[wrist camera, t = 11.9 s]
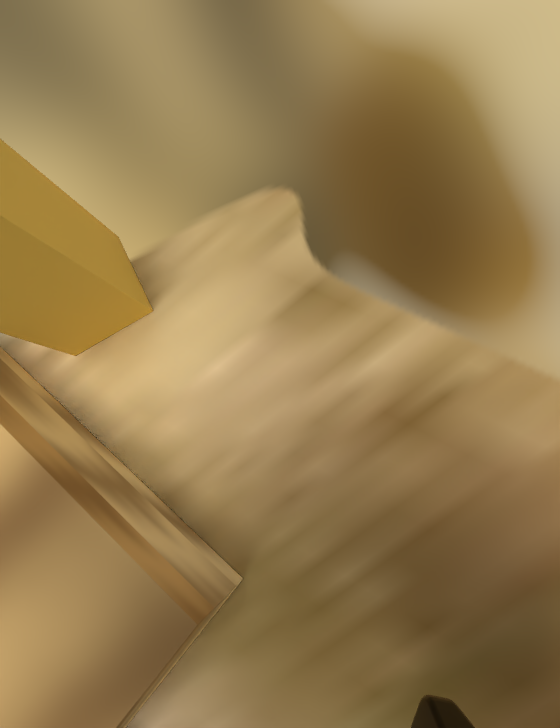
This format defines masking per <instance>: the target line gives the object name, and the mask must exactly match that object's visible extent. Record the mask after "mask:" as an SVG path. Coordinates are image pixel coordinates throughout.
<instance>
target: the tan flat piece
mask: <svg viewBox="0 0 560 728" xmlns="http://www.w3.org/2000/svg"><path fill="white" fill-rule="evenodd" d="M242 580H243V578H242V577H241V576H240V575H239V574H238V573H237V572H236V571H235V570H234V569H232V568H231V567H230V566H229V565H228V564H227V563H226V562H225V561H224V560H223V559H222V558H221V557H220V556H219V555H218V554H217V553H216V552H215V551H214V550H213V549H212V548H210V547H209V546H208V545H207V544H206V543H205V542H204V541H203V540H202V539H201V538H200V537H199V536H198V535H197V534H196V533H195V532H194V531H193V530H192V529H191V528H190V527H189V526H187V525H186V524H185V523H184V522H183V521H182V520H181V519H180V518H179V517H178V516H177V515H176V514H175V513H174V512H173V511H172V510H171V509H170V508H169V507H168V506H167V505H165V504H164V503H163V502H162V501H161V500H160V499H159V498H158V497H157V496H156V495H155V494H154V493H153V492H152V491H151V490H150V489H149V488H148V487H147V486H146V485H145V484H143V483H142V482H141V481H140V480H139V479H138V478H137V477H136V476H135V475H134V474H133V473H132V472H131V471H130V470H129V469H128V468H127V467H126V466H125V465H124V464H123V463H122V462H120V461H119V460H118V459H117V458H116V457H115V456H114V455H113V454H112V453H111V452H110V451H109V450H108V449H107V448H106V447H105V446H104V445H103V444H102V443H101V442H100V441H98V440H97V439H96V438H95V437H94V436H93V435H92V434H91V433H90V432H89V431H88V430H87V429H86V428H85V427H84V426H83V425H82V424H81V423H80V422H79V421H78V420H77V419H75V418H74V417H73V416H72V415H71V414H70V413H69V412H68V411H67V410H66V409H65V408H64V407H63V406H62V405H61V404H60V403H59V402H58V401H57V400H56V399H55V398H53V397H52V396H51V395H50V394H49V393H48V392H47V391H46V390H45V389H44V388H43V387H42V386H41V385H40V384H39V383H38V382H37V381H36V380H35V379H34V378H33V377H32V376H30V375H29V374H28V373H27V372H26V371H25V370H24V369H23V368H22V367H21V366H20V365H19V364H18V363H17V362H16V361H15V360H14V359H13V358H12V357H11V356H10V355H8V354H7V353H6V352H5V351H4V350H3V349H2V348H1V347H0V728H125V727H126V726H127V725H128V724H129V722H130V721H131V720H132V719H133V717H134V716H135V715H136V714H137V712H138V711H139V710H140V709H141V707H142V706H143V705H144V703H145V702H146V701H147V700H148V698H149V697H150V696H151V695H152V693H153V692H154V691H155V690H156V688H157V687H158V686H159V685H160V683H161V682H162V681H163V679H164V678H165V677H166V676H167V674H168V673H169V672H170V671H171V669H172V668H173V667H174V666H175V664H176V663H177V662H178V661H179V659H180V658H181V657H182V655H183V654H184V653H185V652H186V650H187V649H188V648H189V647H190V645H191V644H192V643H193V642H194V640H195V639H196V638H197V636H198V635H199V634H200V633H201V631H202V630H203V629H204V628H205V626H206V625H207V624H208V623H209V621H210V620H211V619H212V618H213V616H214V615H215V614H216V612H217V611H218V610H219V609H220V607H221V606H222V605H223V604H224V602H225V601H226V600H227V599H228V597H229V596H230V595H231V594H232V592H233V591H234V590H235V588H236V587H237V586H238V585H239V583H240V582H241V581H242Z"/></svg>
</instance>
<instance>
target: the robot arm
mask: <svg viewBox="0 0 560 728" xmlns="http://www.w3.org/2000/svg"><path fill="white" fill-rule="evenodd" d="M411 728H475V727H474V726H473V725H472V724H471V722H470V721H469V720H468V719H467V717H466V716H465V715H464V714H463V712H462V711H461V710H460V709H459V707H458V706H457V705H456V704H455V703H454V702H453V701H452V700H450V699H447V698H442V697H437V696H432V695H425V696H424V697H423V698H422V699H421V701H420V703H419V706H418V709H417V712H416V715H415V717H414V720H413V723H412V726H411Z"/></svg>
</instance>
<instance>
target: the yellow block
mask: <svg viewBox="0 0 560 728" xmlns="http://www.w3.org/2000/svg"><path fill="white" fill-rule="evenodd" d="M152 311H153V309H152V307H151V305H150V303H149V301H148V299H147V297H146V295H145V292H144V290H143V288H142V286H141V284H140V282H139V280H138V278H137V275H136V273H135V271H134V269H133V267H132V265H131V263H130V261H129V258H128V256H127V254H126V252H125V250H124V248H123V246H122V244H121V241H120V239H119V237H118V236H117V235H116V234H114V233H113V232H112V231H111V230H109V229H108V228H107V227H106V226H105V225H103V224H102V223H101V222H100V221H99V220H97V219H96V218H95V217H94V216H93V215H91V214H90V213H89V212H88V211H87V210H85V209H84V208H83V207H82V206H81V205H79V204H78V203H77V202H76V201H75V200H73V199H72V198H71V197H70V196H69V195H67V194H66V193H65V192H64V191H62V190H61V189H60V188H59V187H58V186H56V185H55V184H54V183H53V182H52V181H50V180H49V179H48V178H47V177H46V176H45V175H43V174H42V173H41V172H40V171H38V170H37V169H36V168H35V167H34V166H32V165H31V164H30V163H29V162H28V161H26V160H25V159H24V158H23V157H21V156H20V155H19V154H18V153H17V152H16V151H14V150H13V149H12V148H10V146H8V145H7V144H6V143H4V141H2V140H1V139H0V333H4V334H7V335H10V336H13V337H16V338H20V339H23V340H26V341H29V342H33V343H36V344H39V345H42V346H45V347H49V348H52V349H55V350H58V351H61V352H65V353H68V354H71V355H74V356H76V355H78V354H80V353H81V352H83V351H85V350H87V349H88V348H90V347H92V346H94V345H95V344H97V343H99V342H100V341H102V340H104V339H106V338H107V337H109V336H111V335H113V334H114V333H116V332H118V331H119V330H121V329H123V328H125V327H126V326H128V325H130V324H132V323H133V322H135V321H137V320H139V319H140V318H142V317H144V316H145V315H147V314H149V313H151V312H152Z"/></svg>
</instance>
